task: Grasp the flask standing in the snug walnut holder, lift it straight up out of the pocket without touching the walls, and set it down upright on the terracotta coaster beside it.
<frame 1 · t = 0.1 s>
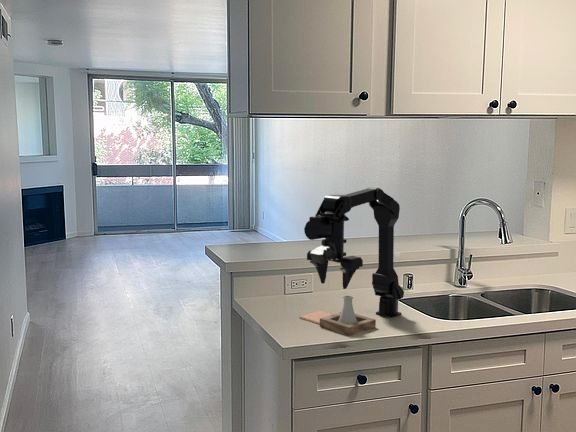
hand: (333, 286, 189), 14 cm above the table, tool pointing down, fingers open, 9 cm apart
walnut holder: (347, 326, 196), on the table
flask: (347, 327, 196), on the table
terracotta coaster: (320, 318, 205), on the table
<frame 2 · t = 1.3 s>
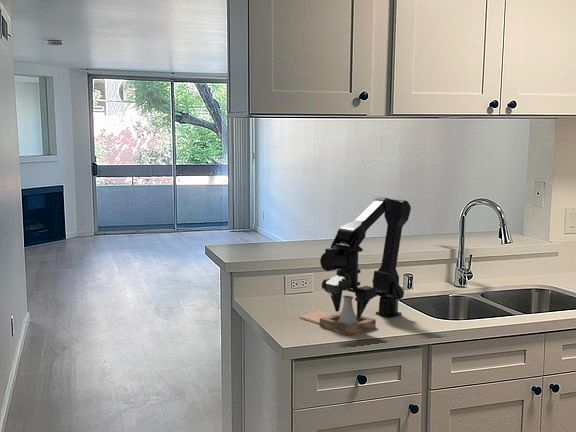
hand: (347, 314, 196), 4 cm above the table, tool pointing down, fingers open, 9 cm apart
nothing on the table moved.
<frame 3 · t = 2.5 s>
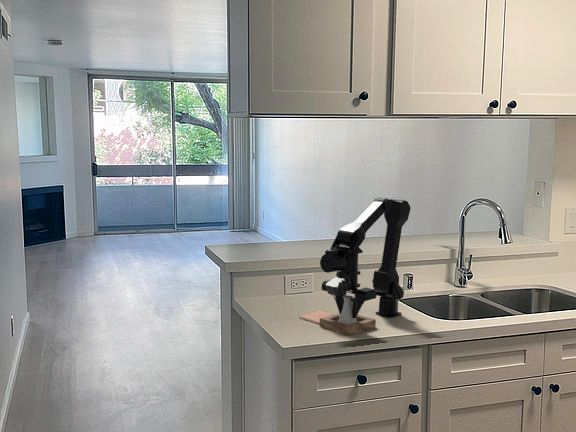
hand: (347, 316, 196), 4 cm above the table, tool pointing down, fingers closed on flask, 5 cm apart
flask: (347, 327, 196), on the table, touching gripper
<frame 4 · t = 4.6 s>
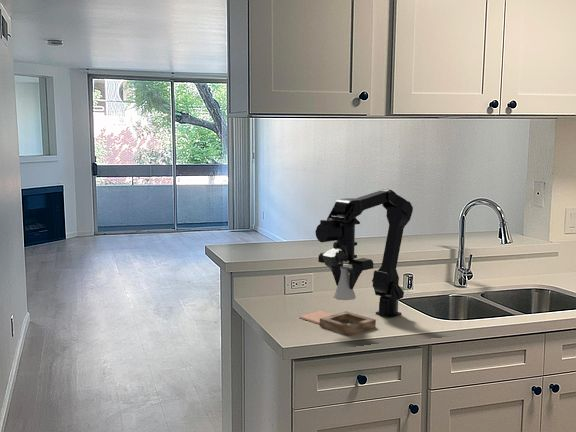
hand: (344, 287, 196), 13 cm above the table, tool pointing down, fingers closed on flask, 5 cm apart
flask: (344, 298, 196), point 9 cm above the table, touching gripper
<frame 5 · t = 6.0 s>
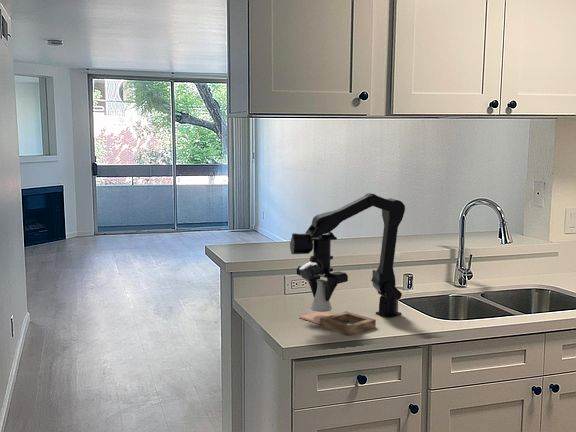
hand: (321, 299, 204), 7 cm above the table, tool pointing down, fingers closed on flask, 5 cm apart
flask: (321, 310, 204), point 3 cm above the table, touching gripper
when the fingers open (6 cm above the table, at t = 7.0 s): flask drops 1 cm, resting on terracotta coaster.
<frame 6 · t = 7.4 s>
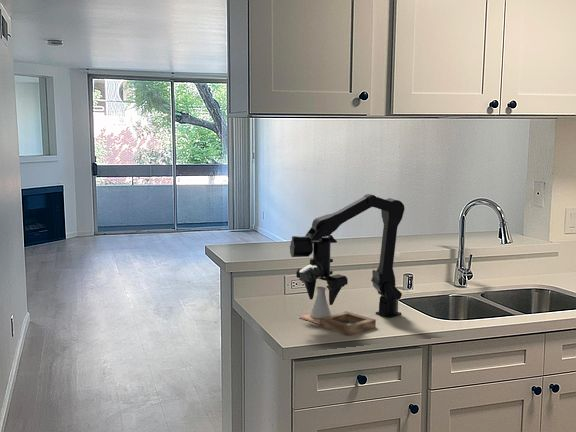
hand: (321, 302, 204), 6 cm above the table, tool pointing down, fingers open, 9 cm apart
flask: (320, 317, 205), resting on terracotta coaster
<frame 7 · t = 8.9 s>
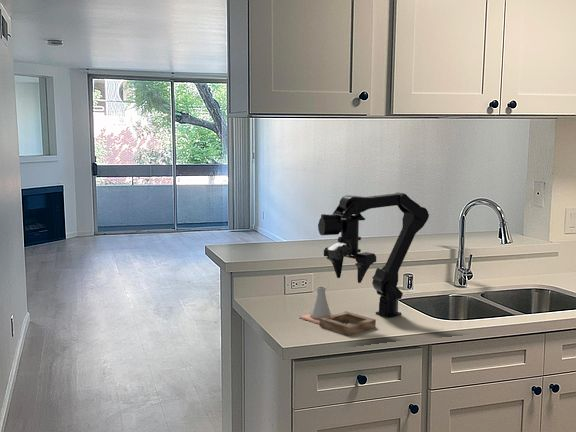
hand: (348, 280, 203), 13 cm above the table, tool pointing down, fingers open, 9 cm apart
nothing on the table moved.
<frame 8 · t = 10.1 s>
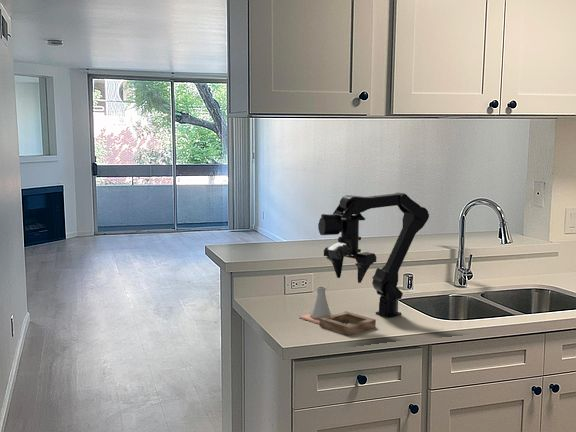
hand: (348, 280, 203), 13 cm above the table, tool pointing down, fingers open, 9 cm apart
nothing on the table moved.
at the end: flask 0.0 cm off-centre on the terracotta coaster, point 0.4 cm above the terracotta coaster's base; flask tilted 0°; the gripper is holding nothing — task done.
